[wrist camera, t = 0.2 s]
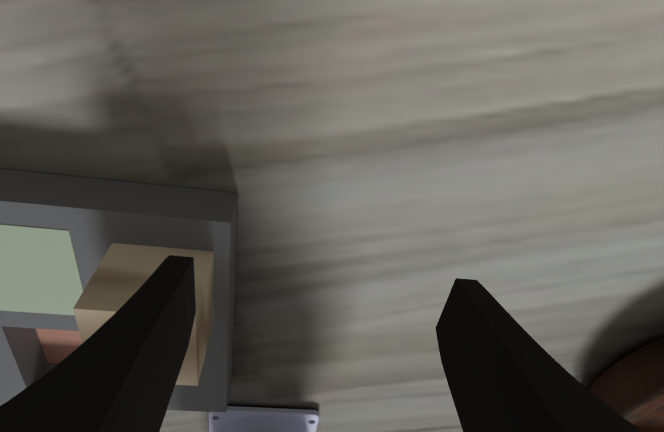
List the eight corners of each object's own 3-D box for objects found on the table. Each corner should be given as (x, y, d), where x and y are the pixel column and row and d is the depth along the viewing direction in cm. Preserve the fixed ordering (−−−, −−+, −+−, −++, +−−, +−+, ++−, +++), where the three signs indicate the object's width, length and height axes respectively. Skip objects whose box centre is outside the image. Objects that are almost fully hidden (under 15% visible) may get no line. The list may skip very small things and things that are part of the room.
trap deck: (231, 378, 30) (226, 412, 28) (-109, 360, 27) (-143, 397, 25) (238, 193, 21) (230, 223, 19) (-254, 142, 19) (-323, 170, 17)
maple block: (213, 317, 23) (198, 385, 19) (123, 311, 22) (92, 380, 19) (213, 251, 20) (195, 317, 17) (112, 242, 20) (72, 308, 16)
